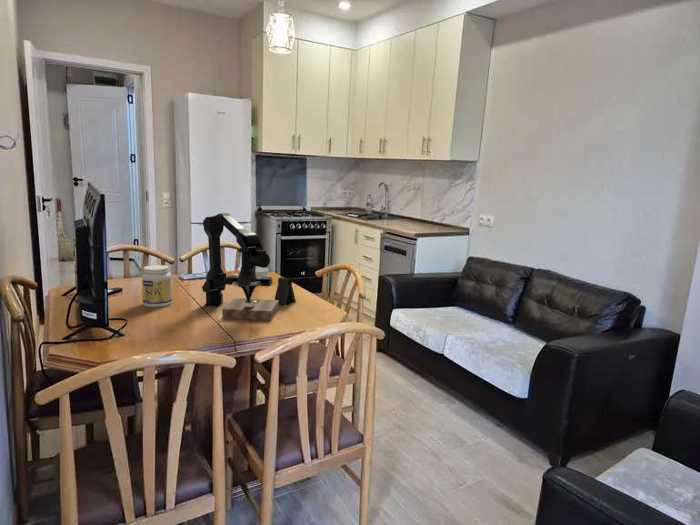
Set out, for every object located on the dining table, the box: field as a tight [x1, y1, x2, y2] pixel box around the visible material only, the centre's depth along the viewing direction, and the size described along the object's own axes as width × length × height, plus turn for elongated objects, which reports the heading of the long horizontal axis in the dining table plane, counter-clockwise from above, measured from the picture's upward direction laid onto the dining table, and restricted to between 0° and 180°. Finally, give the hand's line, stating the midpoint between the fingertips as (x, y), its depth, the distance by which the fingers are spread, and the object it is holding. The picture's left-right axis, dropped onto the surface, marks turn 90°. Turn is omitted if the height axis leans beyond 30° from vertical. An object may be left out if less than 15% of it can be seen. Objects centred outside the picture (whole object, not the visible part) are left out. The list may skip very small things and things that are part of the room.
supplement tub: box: [141, 264, 173, 308], centre depth 204 cm, size 12×12×17 cm
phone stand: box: [273, 276, 297, 307], centre depth 214 cm, size 9×6×12 cm, turn 147°
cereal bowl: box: [237, 266, 269, 279], centre depth 255 cm, size 17×17×7 cm
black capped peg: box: [245, 300, 252, 309], centre depth 191 cm, size 3×3×4 cm
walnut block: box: [221, 297, 280, 321], centre depth 197 cm, size 20×17×4 cm
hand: (248, 300), depth 191 cm, fingers closed, pressing on black capped peg
